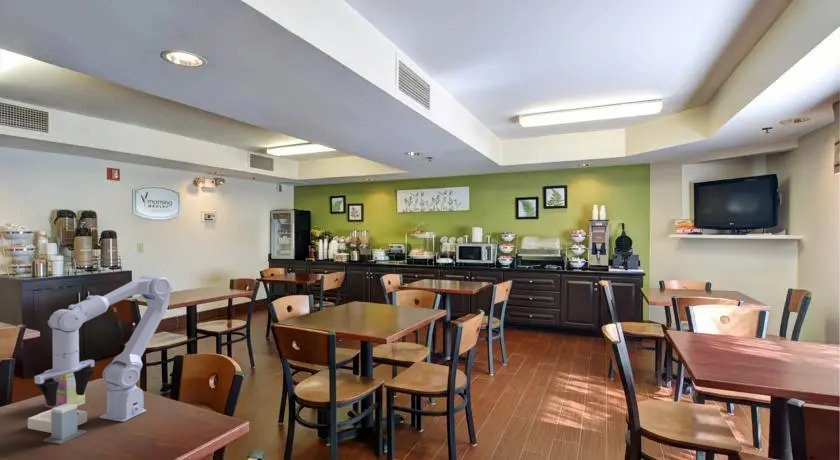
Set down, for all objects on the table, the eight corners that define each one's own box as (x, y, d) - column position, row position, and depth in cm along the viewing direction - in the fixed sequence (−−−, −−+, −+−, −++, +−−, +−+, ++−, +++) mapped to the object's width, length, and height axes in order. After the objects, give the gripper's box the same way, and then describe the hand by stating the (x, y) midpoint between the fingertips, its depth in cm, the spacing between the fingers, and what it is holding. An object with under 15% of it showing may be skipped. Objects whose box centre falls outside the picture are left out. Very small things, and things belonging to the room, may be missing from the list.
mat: (86, 432, 121) (86, 430, 121) (60, 444, 114) (60, 443, 114) (70, 429, 123) (70, 427, 123) (43, 441, 116) (43, 439, 116)
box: (43, 407, 138) (43, 370, 138) (63, 400, 143) (63, 365, 143) (66, 411, 135) (66, 374, 135) (85, 404, 140) (85, 368, 140)
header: (87, 421, 128) (86, 409, 128) (58, 434, 120) (58, 421, 120) (57, 416, 131) (57, 404, 131) (27, 428, 123) (27, 416, 123)
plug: (77, 432, 120) (77, 404, 120) (61, 439, 116) (61, 410, 116) (67, 430, 121) (66, 402, 121) (51, 437, 117) (51, 408, 117)
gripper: (81, 344, 128) (81, 388, 128) (26, 358, 113) (26, 409, 114) (99, 345, 126) (100, 391, 126) (45, 361, 112) (45, 412, 112)
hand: (66, 399), depth 120 cm, fingers open, 7 cm apart
